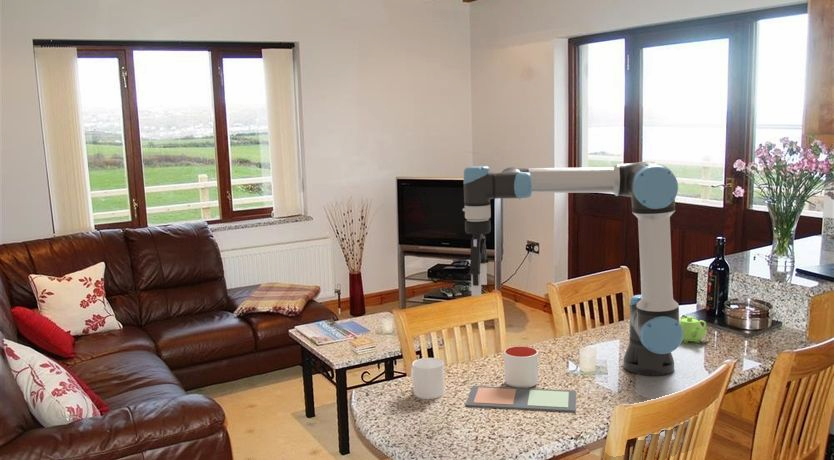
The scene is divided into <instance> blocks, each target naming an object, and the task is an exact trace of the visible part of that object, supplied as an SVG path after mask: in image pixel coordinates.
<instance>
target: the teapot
mask: <svg viewBox="0 0 834 460" xmlns="http://www.w3.org/2000/svg"><path fill="white" fill-rule="evenodd" d="M679 322H680V324H681V326H682V329H683V340H682V342H681V344H688V342H694V343H695V344H700V343H701V342H700V341H701V340H702V339H704V337H705V336H706V335H707V334H708V331H707V330H706V327H707V322H706V321H704V320H703V319H702V320H701V319H700V320H698V319H696V318H693V316H690V315H689V316H688V315H687V316H680V319H679ZM701 323H703V325H702V324H701Z"/></svg>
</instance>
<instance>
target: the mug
mask: <svg viewBox="0 0 834 460" xmlns="http://www.w3.org/2000/svg"><path fill="white" fill-rule="evenodd" d="M411 364H412V365H411V367H410V368H411V369H410V378H411V380H412V383H413V395H414V396H415V397H416V398H419V399H422V400H434V399H438V398H441V397H443V396H444V394H445V368H444V364H445V363H444V360H442V359H440V358H436V357H424V358H417V359H415V360H414V361H413V362H412V363H411Z"/></svg>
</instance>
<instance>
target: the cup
mask: <svg viewBox="0 0 834 460" xmlns="http://www.w3.org/2000/svg"><path fill="white" fill-rule="evenodd" d="M503 359H504V360H503V362H504V364H503V365H504V366H503V367H504V368H503V369H504V370H503V371H504V382H505V384H506V385H508V386H510V388H532V387H534V386H536V385H537V384H538V382H539V352H538V349H536V348H533V347H530V346H523V345H521V346H520V345H517V346H511V347H508V348H507V347H506V349H505V350H504V352H503Z"/></svg>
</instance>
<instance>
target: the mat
mask: <svg viewBox="0 0 834 460" xmlns="http://www.w3.org/2000/svg"><path fill="white" fill-rule="evenodd" d="M576 396H577V390H574V389H573V390H570V389H552V388H551V389H547V388H532V387H529V388H515V387H511V386H510V387H506V386H489V385H487V386H485V385H484V386H483V385H472V386H471V390H470V391H469V394H468V397H467V399H466V403H465V407H468V408H469V407H470V408H471V407H473V408H475V407H476V408H488V409H489V408H490V409H491V408H492V409H506V410H507V409H509V410H511V409H512V410H527V411H528V410H529V411H545V412H549V411H550V412H563V413H564V412H565V413H576V411H577V409H576V406H577V403H576V401H577V397H576Z"/></svg>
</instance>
